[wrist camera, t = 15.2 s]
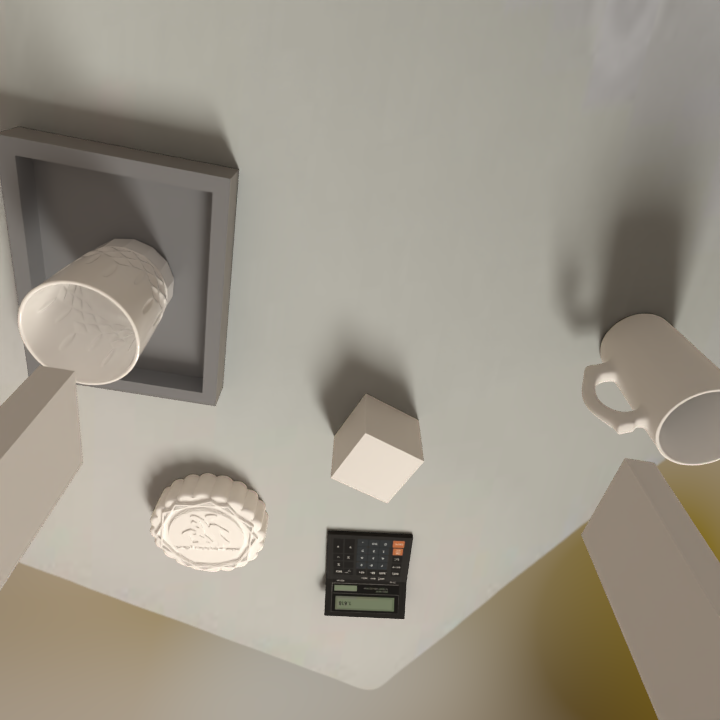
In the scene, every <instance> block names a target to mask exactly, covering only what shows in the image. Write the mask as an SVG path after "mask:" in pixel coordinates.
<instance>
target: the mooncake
mask: <svg viewBox="0 0 720 720" xmlns="http://www.w3.org/2000/svg"><path fill="white" fill-rule="evenodd" d="M265 509H266V505H265V503H264V502H263V501H261V500H259V499H258V494H257V493H256V492H255V491H254V490H251V489H247V486H246V485H245V484H244V483H243V482H240V481H233V480H232V479H231V478H230V477H228V476H223V475H222V476H218V477H216V476H215V475H213V474H210V473H205V474H202V475H201V476H198V475H194V474H192V475H188V476H187V477H186V478H185V479H177V480H175V481H174V482H173V483H172V485H171V486H170V487H166V488H165V489H164V490H163V492H162V495H161V497H160V499H159V500H158V502H157V505H156V507H155V509H154V511H153V514H152V516H151V518H150V522H151V524H152V526H151V529H150V532H151V534H152V536H154V537H155V544H156V545H157V546H158V547H159V548H162V549H163V551H164V553H165V555H166V556H168V557H170V558H175V560H176V561H177V562H178V563H179V564H181V565H185V566H189V567H192V568H193V569H196V570H202V571H204V570H207V571H210V572H216V571H219V570H220V569H221V570H224V571H230V570H232V569H234V568H236V567H243V566H245V565H246V564H247V563H248V561H251V560H254V559H255V558H256V557H257V555H258V551H260V550H261V549H262V548H263V546H264V541H265V536H266V531H267V524H268V519H269V516H268V514H267V512H265Z"/></svg>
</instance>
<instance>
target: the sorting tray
mask: <svg viewBox="0 0 720 720" xmlns="http://www.w3.org/2000/svg"><path fill="white" fill-rule="evenodd" d="M238 177H239V169H234V168H229V167H224V166H219V165H213V164H208V163H203V162H198V161H193V160H188V159H182V158H177V157H172V156H167V155H162V154H157V153H151V152H146V151H141V150H136V149H131V148H126V147H120V146H115V145H110V144H105V143H100V142H95V141H89V140H84V139H79V138H74V137H69V136H64V135H58V134H53V133H48V132H43V131H38V130H33V129H27V128H22V127H15V128H12V129H8V130H5V131H1V132H0V178H1V185H2V192H3V200H4V207H5V214H6V221H7V228H8V235H9V242H10V249H11V256H12V263H13V270H14V277H15V284H16V291H17V298H18V305H19V307H20V304H21V302H22V300H23V299H24V297H25V296H26V295H27V294H28V293H29V292H30V291H31V290H32V289H33V288H35V287H36V286H38V285H39V284H41V283H42V282H44V281H45V280H47V279H48V278H50V277H51V276H53V275H54V274H55V273H57V272H58V271H60V270H61V269H63V268H64V267H66V266H67V265H69V264H70V263H72V262H74V261H75V260H77V259H78V258H80V257H82V256H83V255H85V254H86V253H88V252H90V251H93V250H95V249H96V248H97V247H99V246H101V245H103V244H105V243H107V242H109V241H111V240H113V239H135V240H138V241H140V242H142V243H144V244H147V245H149V246H151V247H153V248H154V249H155V250H156V251H157V252H158V253H159V254H160V255H161V256H162V257H163V258H164V259H165V260H166V261H167V262H168V265H169V267H170V270H171V272H172V275H173V277H174V287H173V296H172V298H171V300H170V301H169V303H168V305H167V306H166V308H165V311H164V314H163V316H162V318H161V320H160V322H159V324H158V326H157V327H156V329H155V331H154V333H153V335H152V337H151V338H150V340H149V342H148V344H147V345H146V347H145V349H144V350H143V352H142V354H141V355H140V357H139V359H138V361H137V362H136V364H135V366H134V367H133V369H132V370H131V371H130V372H129V373H128V374H127V375H126V376H124V377H123V378H121V379H119V380H117V381H115V382H112V383H108V384H102V385H86V384H80V383H76V384H77V385H83V386H90V387H96V388H103V389H109V390H115V391H122V392H128V393H135V394H141V395H147V396H154V397H160V398H166V399H173V400H179V401H186V402H192V403H198V404H205V405H211V406H216V404H217V401H218V398H219V396H220V393H221V391H222V388H223V380H224V366H225V353H226V339H227V326H228V312H229V299H230V285H231V272H232V258H233V245H234V231H235V218H236V204H237V191H238ZM24 348H25V355H26V362H27V369H28V376H30V375H31V374H32V373H33V372H34V371H35V370H36V369H37V368H38V367H39V366H43V365H41V364H40V363H39V362H38V361H37V360H36V359H35V358H34V357H33V356H32V354H31V353H30V352H29V350H28V349H27V347H26V346H25V344H24Z"/></svg>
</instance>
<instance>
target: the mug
mask: <svg viewBox="0 0 720 720" xmlns="http://www.w3.org/2000/svg"><path fill="white" fill-rule="evenodd" d="M600 355H601V359H602V362H603V363H602V364H597V365H590V366H587V367H586V368H585V371H584V377H583V384H582V397H583V400H584V403H585V405H586V406H587V408H588V409H589V410H590V411H591V412H592V413H593V414H594V415H595V416H596V417H597V418H599V419H600V420H601V421H603V422H604V423H606V424H607V425H609V426H611V427H612V428H613V429H615V431H616V432H617V433H618V434H623V433H628V432H632V431H633V430H634V429H635V428H637V427H641V428H644V429H645V430H646V432H647V433H648V435H649V436H650V438H651V439H652V441H653V442H654V443H655V445H656V446H657V448H658V450H659V452H660V453H661V454H662V455H663V456H664V457H665V458H667V459H668V460H670V461H672V462H675V463H678V464H682V465H701V464H707V463H711V462H715V461H718V460H720V369H719V368H718V367H717V366H716V365H714V364H713V363H712V362H711V361H710V360H709V359H708V358H707V357H706V356H705V355H704V354H702V353H701V352H700V351H699V350H698V349H697V348H696V347H695V346H694V345H693V344H692V343H691V342H690V341H688V340H687V339H686V338H685V337H684V336H683V335H682V334H681V333H680V332H679V331H677V330H676V329H675V328H674V327H673V326H672V325H671V324H669V323H668V322H667V321H666V320H665V319H663V318H662V317H659V316H657V315H654V314H636V315H632V316H629V317H627V318H625V319H623V320H621V321H619V322H618V323H616V324H615V325H614V326H613V327H612V328H611V329H610V330H609V331H608V332H607V333H606V335H605V337H604V338H603V341H602V343H601V348H600ZM607 381H613V382H615V383H616V385H617V386H618V388H619V389H620V391H621V392H622V394H623V396H624V397H625V399H626V400H627V402H628V403H629V405H630V406H631V408H632V410H633V411H629V412H621V411H616V410H613V409H611V408H609V407H607V406H605V405H604V404H603V403H602V402H600V400H599V399H598V397H597V395H596V391H595V388H596V386H597V385H598V384H599V383H602V382H607Z"/></svg>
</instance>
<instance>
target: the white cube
mask: <svg viewBox="0 0 720 720" xmlns="http://www.w3.org/2000/svg"><path fill="white" fill-rule="evenodd" d="M423 462H424V458H423V450H422V442H421V434H420V426H419V420H417V419H415V418H413V417H411V416H409V415H407V414H405V413H404V412H402V411H400V410H398V409H396V408H394V407H392V406H390V405H388V404H386V403H384V402H382V401H380V400H378V399H376V398H374V397H372V396H370V395H368V394H365V395H364V397H363V398H362V399H361V401H360V402H359V403H358V405H357V406H356V407H355V409H354V410H353V411H352V413H351V414H350V415H349V417H348V418H347V420H346V421H345V422H344V424H343V425H342V426H341V428H340V429H339V430H338V432H337V433H336V434H335V436H334V445H333V457H332V469H331V478H332V479H334V480H336V481H339V482H341V483H343V484H345V485H347V486H350V487H352V488H354V489H356V490H359V491H361V492H363V493H365V494H367V495H370V496H372V497H374V498H376V499H378V500H381V501H383V502H385V503H388V502H389V501H390V500H391V498H392V497H393V496H394V495H395V494H396V493H397V492H398V490H399V489H400V488H401V487H402V486H403V485H404V484H405V482H406V481H407V480H408V479H409V478H410V477H411V476H412V474H413V473H414V472H415V471H416V470H417V469H418V468H419V466H420V465H421V464H422V463H423Z"/></svg>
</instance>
